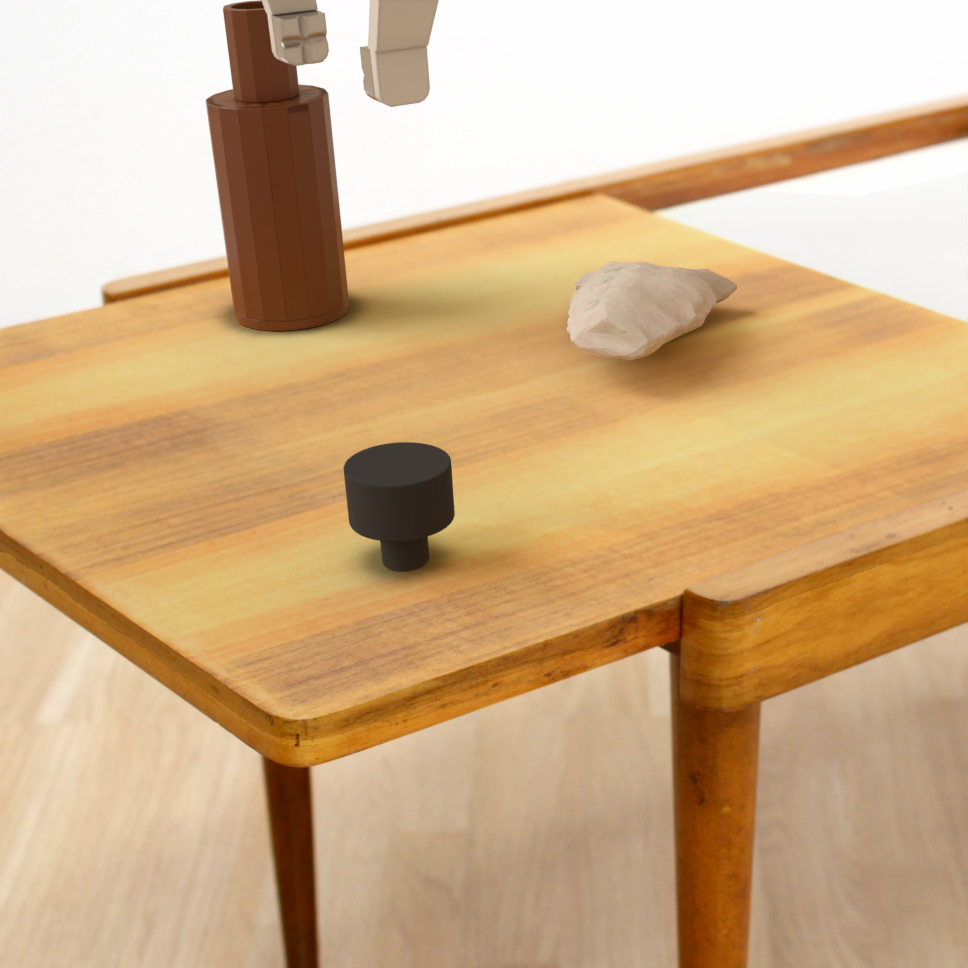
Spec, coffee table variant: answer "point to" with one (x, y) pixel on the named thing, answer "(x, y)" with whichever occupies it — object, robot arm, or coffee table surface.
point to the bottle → (276, 185)
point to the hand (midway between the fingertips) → (346, 80)
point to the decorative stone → (640, 307)
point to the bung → (400, 499)
